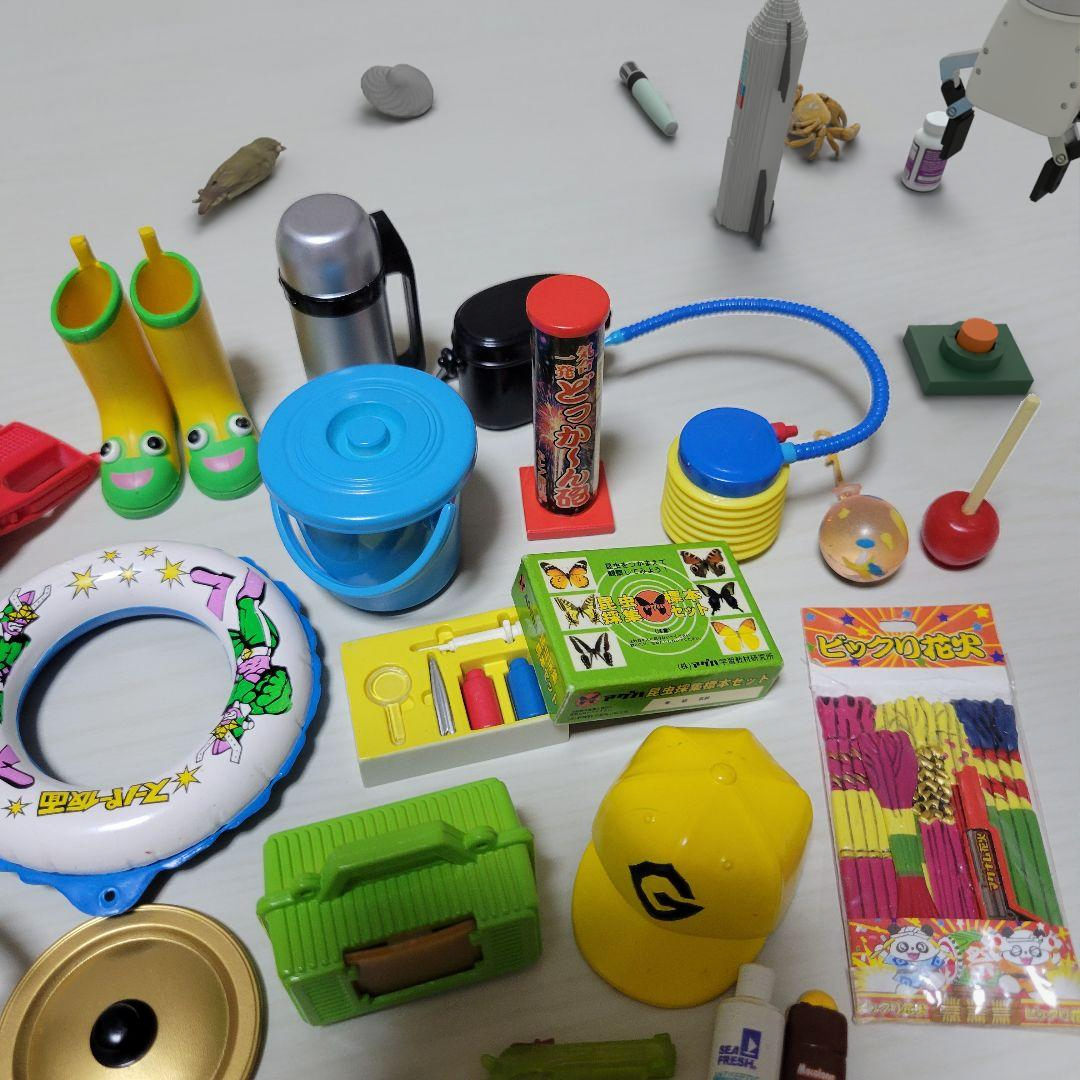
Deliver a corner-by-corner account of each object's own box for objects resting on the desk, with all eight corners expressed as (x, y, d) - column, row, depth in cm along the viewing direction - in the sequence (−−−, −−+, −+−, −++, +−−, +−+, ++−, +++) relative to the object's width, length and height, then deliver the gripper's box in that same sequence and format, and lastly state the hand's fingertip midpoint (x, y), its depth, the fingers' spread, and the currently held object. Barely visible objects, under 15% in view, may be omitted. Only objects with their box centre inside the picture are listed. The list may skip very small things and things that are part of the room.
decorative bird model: (300, 160, 142) (293, 128, 138) (211, 229, 131) (201, 197, 127) (273, 151, 143) (266, 119, 139) (183, 219, 133) (172, 187, 129)
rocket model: (783, 244, 128) (837, 11, 104) (733, 250, 127) (776, 17, 104) (750, 186, 137) (793, -41, 113) (702, 192, 136) (735, -36, 112)
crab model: (874, 156, 142) (885, 121, 137) (796, 169, 139) (804, 134, 135) (827, 104, 151) (836, 70, 146) (753, 116, 148) (760, 81, 144)
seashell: (356, 96, 153) (366, 118, 146) (356, 59, 149) (365, 79, 142) (427, 97, 156) (440, 119, 149) (428, 61, 152) (441, 81, 146)
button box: (999, 337, 116) (1012, 311, 113) (1026, 394, 110) (1041, 368, 107) (902, 339, 116) (912, 313, 113) (924, 396, 110) (935, 370, 107)
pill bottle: (945, 181, 137) (968, 117, 130) (927, 197, 135) (950, 132, 127) (911, 167, 139) (932, 104, 132) (893, 183, 137) (914, 119, 129)
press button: (985, 331, 112) (992, 317, 110) (996, 354, 109) (1003, 340, 108) (952, 331, 112) (958, 318, 110) (961, 354, 109) (968, 341, 108)
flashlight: (692, 126, 144) (645, 65, 155) (670, 117, 141) (624, 55, 153) (680, 146, 146) (635, 83, 157) (658, 137, 143) (614, 74, 155)
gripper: (1197, 4, 75) (1097, 196, 89) (1001, -60, 83) (937, 126, 97) (1153, 35, 72) (1056, 229, 86) (954, -35, 80) (895, 153, 93)
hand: (993, 174), depth 91 cm, fingers open, 9 cm apart
